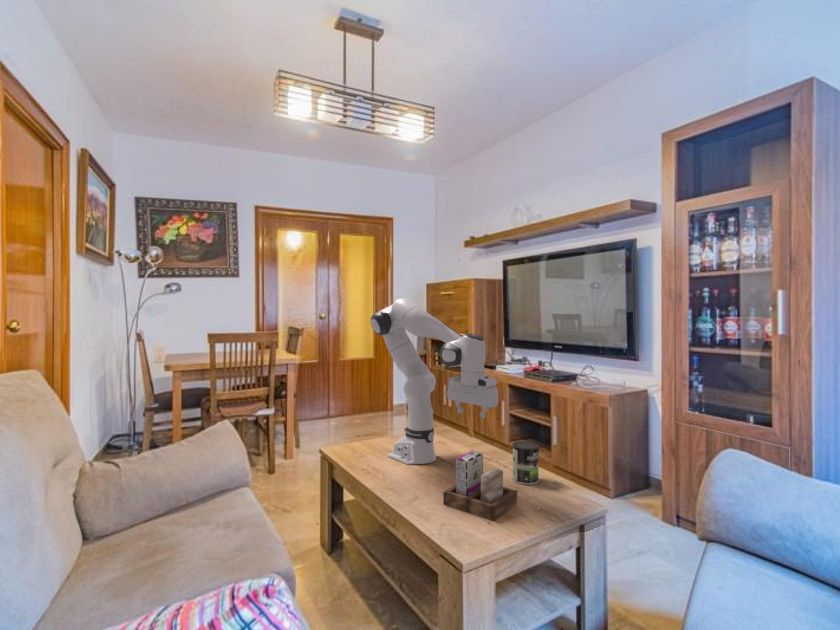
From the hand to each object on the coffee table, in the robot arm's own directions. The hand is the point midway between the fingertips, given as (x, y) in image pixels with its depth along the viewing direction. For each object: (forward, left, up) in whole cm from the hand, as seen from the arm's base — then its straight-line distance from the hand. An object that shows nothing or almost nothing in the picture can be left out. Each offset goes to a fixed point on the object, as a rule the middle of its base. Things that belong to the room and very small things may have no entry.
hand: (471, 415), depth 172 cm
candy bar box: (+4, -7, -29) cm, 30 cm away
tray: (+8, -7, -29) cm, 31 cm away
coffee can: (+11, +23, -29) cm, 39 cm away
